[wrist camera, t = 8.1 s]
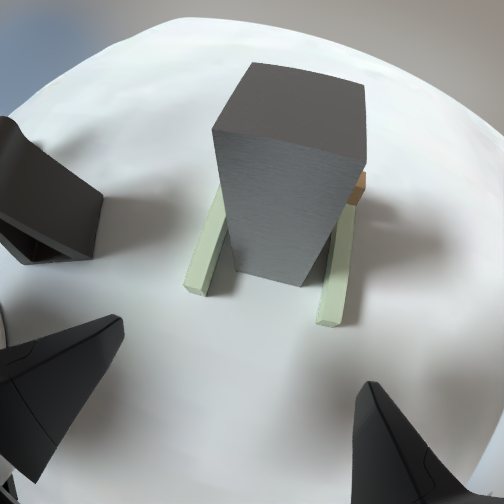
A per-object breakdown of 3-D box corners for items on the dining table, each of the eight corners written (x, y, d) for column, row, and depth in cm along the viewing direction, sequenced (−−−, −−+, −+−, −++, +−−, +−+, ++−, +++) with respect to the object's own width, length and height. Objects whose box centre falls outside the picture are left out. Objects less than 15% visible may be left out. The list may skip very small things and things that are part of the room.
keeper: (332, 327, 17) (353, 317, 14) (189, 292, 18) (173, 273, 15) (349, 202, 21) (365, 172, 17) (230, 175, 22) (227, 141, 18)
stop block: (300, 287, 18) (366, 162, 7) (235, 270, 19) (211, 129, 7) (312, 229, 20) (364, 85, 9) (253, 215, 21) (252, 62, 9)
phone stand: (105, 197, 22) (37, 95, 11) (93, 260, 19) (-7, 170, 8) (37, 210, 21) (-32, 137, 10) (23, 265, 19) (-64, 202, 8)
